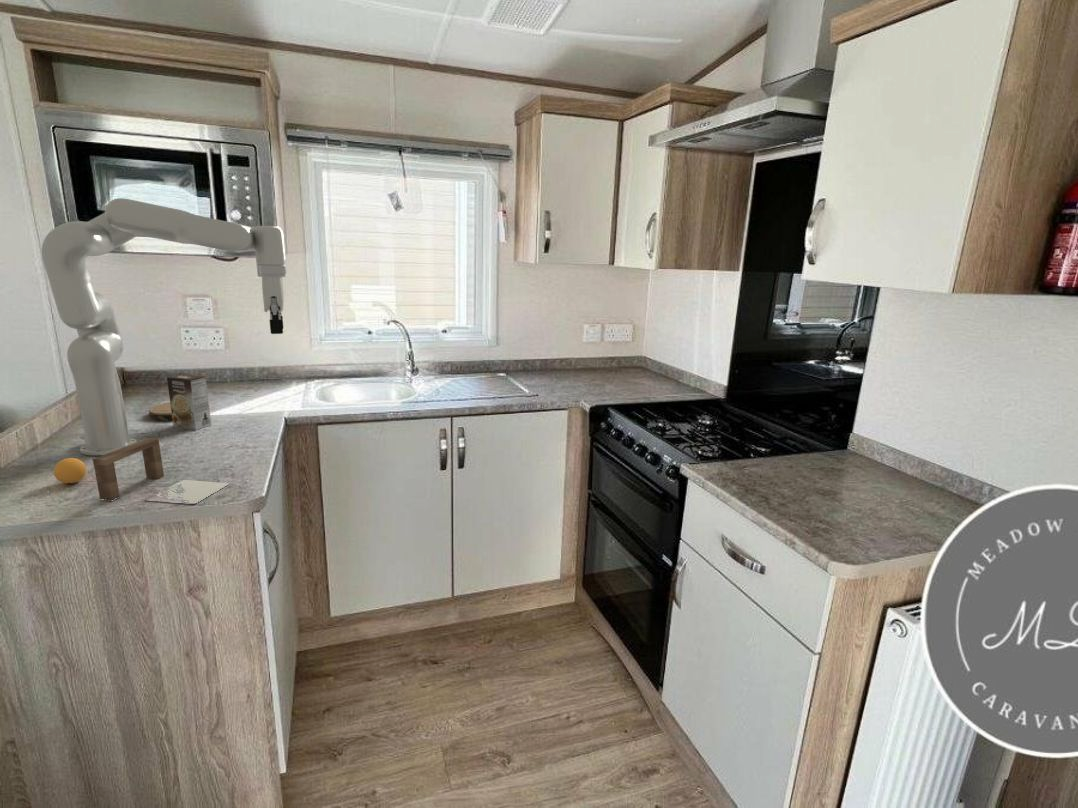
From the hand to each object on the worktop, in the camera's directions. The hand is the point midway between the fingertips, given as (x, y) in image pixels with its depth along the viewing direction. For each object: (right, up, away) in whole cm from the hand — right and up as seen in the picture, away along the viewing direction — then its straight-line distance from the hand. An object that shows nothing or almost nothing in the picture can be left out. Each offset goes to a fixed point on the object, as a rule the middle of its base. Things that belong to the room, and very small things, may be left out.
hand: (277, 331), depth 167 cm
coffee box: (-32, -28, +12) cm, 45 cm away
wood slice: (-44, -25, +24) cm, 56 cm away
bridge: (-18, -41, -34) cm, 56 cm away
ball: (-34, -37, -32) cm, 60 cm away
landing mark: (-4, -42, -35) cm, 55 cm away
